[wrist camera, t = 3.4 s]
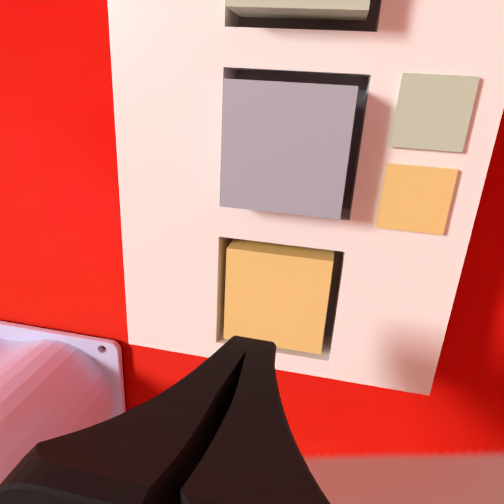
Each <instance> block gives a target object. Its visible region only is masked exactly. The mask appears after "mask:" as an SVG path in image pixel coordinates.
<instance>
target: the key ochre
mask: <svg viewBox="0 0 504 504" xmlns="http://www.w3.org/2000/svg"><path fill="white" fill-rule="evenodd" d="M333 262H334V251H333V250H325V249H317V248H309V247H301V246H292V245H284V244H276V243H268V242H259V241H251V240H243V239H235V238H234V239H233V240H232V242H231V243H230V244H229V246H228V247H227V250H226V279H225V308H224V336H223V339H230V338H231V337H233V336H234V335H235V336H241V337H247V338H253V339H259V340H265V341H271V342H274V343H275V345H276V347H278V348H284V349H290V350H296V351H302V352H308V353H314V354H321V350H322V343H323V335H324V328H325V321H326V313H327V306H328V299H329V291H330V284H331V277H332V269H333Z"/></svg>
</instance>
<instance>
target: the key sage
mask: <svg viewBox="0 0 504 504" xmlns="http://www.w3.org/2000/svg"><path fill="white" fill-rule="evenodd" d="M369 6H370V0H226V7H227V8H229V9H230V10H231V11H233V12H234V13H236V14H237V15H238V16H240V17H263V18H296V19H329V20H362V21H366V18H367V15H368V11H369Z"/></svg>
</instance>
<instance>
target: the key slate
mask: <svg viewBox="0 0 504 504" xmlns="http://www.w3.org/2000/svg"><path fill="white" fill-rule="evenodd" d="M357 93H358V86H350V85H332V84H314V83H296V82H279V81H261V80H243V79H225V78H224V82H223V118H222V154H221V190H220V207H229V208H239V209H248V210H257V211H266V212H275V213H284V214H293V215H303V216H312V217H321V218H330V219H339V220H340V217H341V210H342V203H343V195H344V188H345V181H346V173H347V166H348V159H349V152H350V144H351V137H352V130H353V122H354V115H355V108H356V100H357Z"/></svg>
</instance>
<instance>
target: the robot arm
mask: <svg viewBox="0 0 504 504" xmlns="http://www.w3.org/2000/svg"><path fill="white" fill-rule="evenodd" d="M102 346H104V347H105V348H106V349H104V348H103V347H102ZM275 356H276V345H275V343H274V342H271V341H265V340H259V339H253V338H247V337H241V336H235V335H234V336H233V337H231V338H230V339H229V340H228V341H227V342H226V343H225V344H224V345H223V346H221V347H220V348H219V349H218V350H217V351H216V352H215V353H214V354H213V355H211V356H210V357H209V358H208V359H207V360H206V361H204V362H203V363H202V364H201V365H200V366H198V367H197V368H196V369H195V370H193V371H192V372H191V373H189V374H188V375H187V376H185V377H184V378H183V379H181V380H180V381H178V382H177V383H176V384H174V385H173V386H171V387H170V388H168V389H167V390H165V391H164V392H162V393H161V394H159V395H157V396H155V397H154V398H152V399H150V400H148V401H147V402H145V403H143V404H141V405H139V406H136V407H134V408H132V409H130V410H128V411H125V397H124V382H123V368H122V354H121V346H120V345H119V343H117V342H116V341H114V340H109V339H103V338H97V337H92V336H86V335H80V334H74V333H68V332H63V331H57V330H51V329H45V328H39V327H34V326H28V325H22V324H16V323H10V322H5V321H0V504H330V502H329V501H328V500H327V498H326V496H325V495H324V493H323V492H322V491H321V489H320V487H319V486H318V484H317V482H316V481H315V479H314V477H313V475H312V474H311V472H310V470H309V468H308V466H307V464H306V462H305V460H304V458H303V456H302V454H301V452H300V450H299V448H298V446H297V444H296V442H295V440H294V437H293V435H292V432H291V430H290V427H289V424H288V422H287V419H286V416H285V413H284V409H283V406H282V402H281V398H280V394H279V390H278V385H277V379H276V373H275Z"/></svg>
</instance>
